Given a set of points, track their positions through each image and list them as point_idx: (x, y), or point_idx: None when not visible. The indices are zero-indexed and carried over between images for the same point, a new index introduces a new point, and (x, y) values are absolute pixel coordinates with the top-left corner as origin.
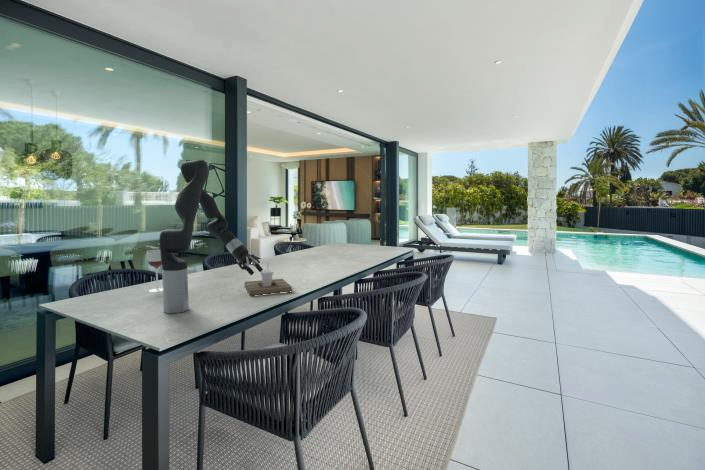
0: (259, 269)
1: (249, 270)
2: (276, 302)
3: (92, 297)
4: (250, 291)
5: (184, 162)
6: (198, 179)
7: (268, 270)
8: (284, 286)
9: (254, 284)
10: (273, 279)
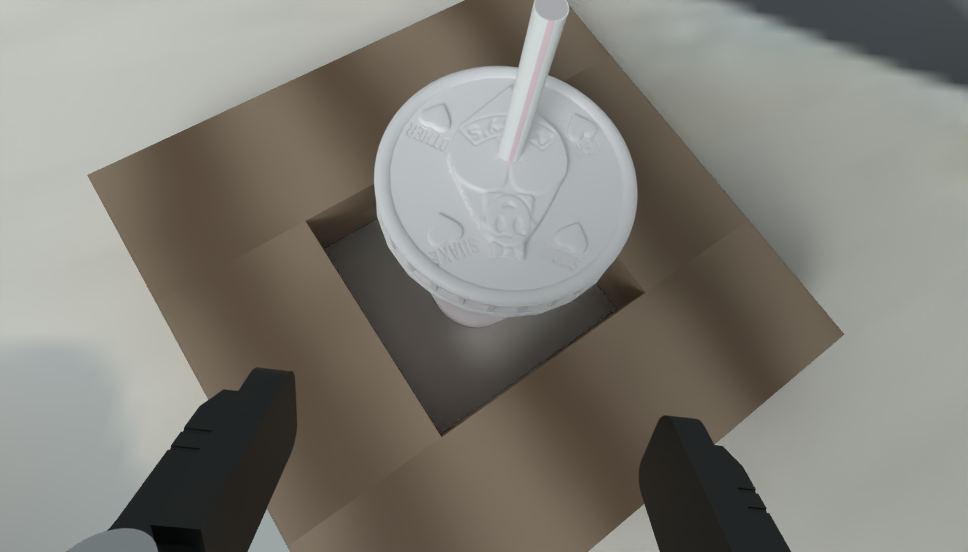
0: (272, 455)
1: (765, 518)
2: (846, 57)
3: None
4: (831, 334)
5: None
6: None
7: (392, 183)
8: None
9: (538, 432)
10: (151, 286)
